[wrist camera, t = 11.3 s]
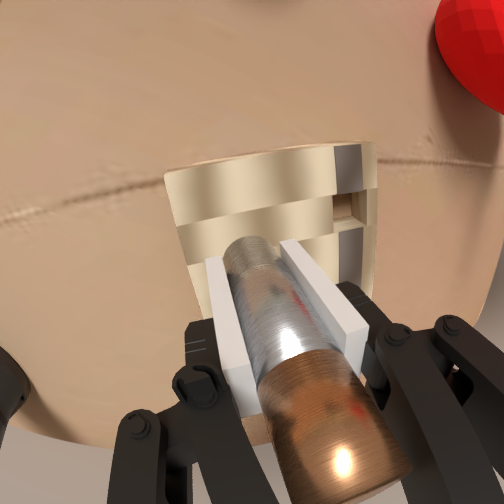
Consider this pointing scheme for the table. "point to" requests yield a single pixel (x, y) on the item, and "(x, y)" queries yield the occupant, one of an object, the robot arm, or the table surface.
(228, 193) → the panel
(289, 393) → the silver and copper cylinder
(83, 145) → the table surface
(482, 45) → the vase
